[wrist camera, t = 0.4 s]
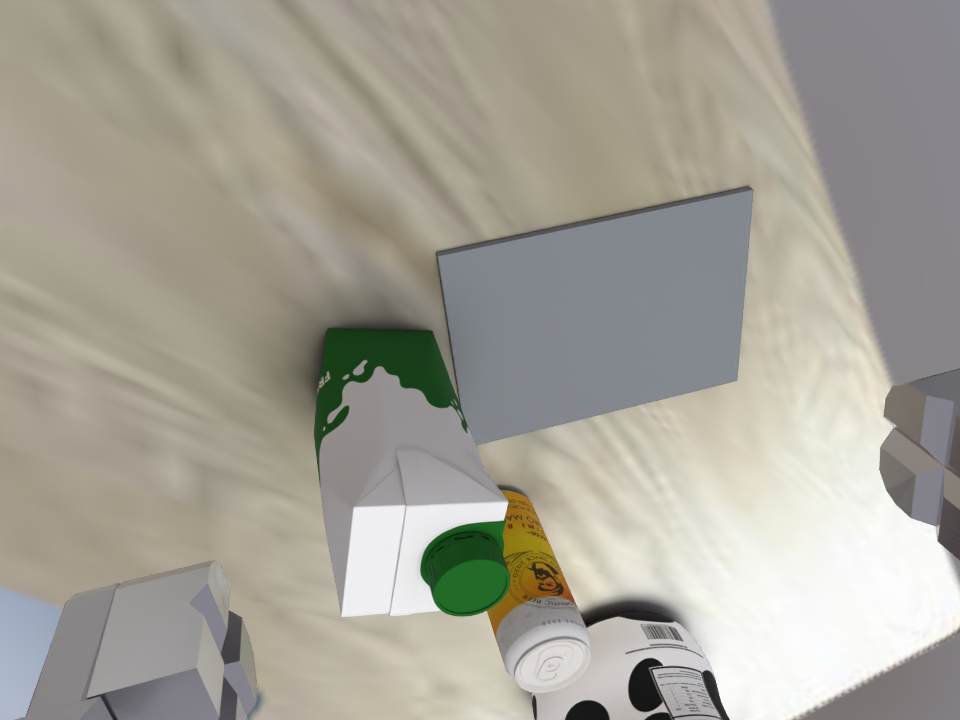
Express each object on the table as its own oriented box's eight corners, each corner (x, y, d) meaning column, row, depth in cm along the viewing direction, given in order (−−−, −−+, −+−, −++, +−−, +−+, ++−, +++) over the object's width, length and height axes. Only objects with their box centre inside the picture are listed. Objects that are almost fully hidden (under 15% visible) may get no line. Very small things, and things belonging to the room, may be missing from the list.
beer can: (540, 486, 65) (609, 634, 53) (518, 542, 68) (579, 695, 55) (469, 482, 63) (524, 636, 51) (450, 540, 66) (498, 699, 53)
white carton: (430, 423, 59) (502, 645, 43) (304, 424, 56) (329, 661, 40) (447, 318, 55) (534, 520, 38) (312, 314, 52) (343, 529, 36)
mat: (436, 252, 52) (438, 256, 51) (748, 186, 55) (753, 189, 54) (465, 442, 61) (467, 447, 60) (733, 376, 64) (737, 380, 63)
